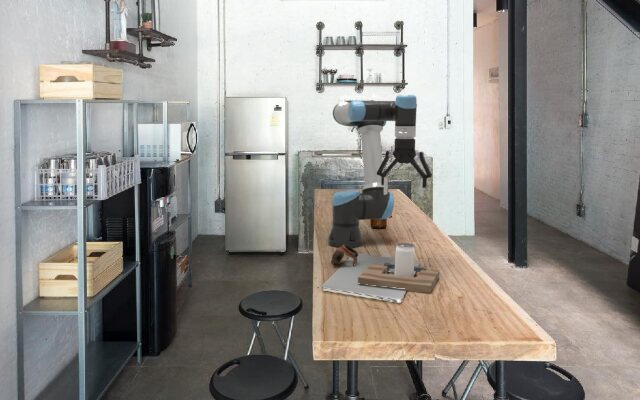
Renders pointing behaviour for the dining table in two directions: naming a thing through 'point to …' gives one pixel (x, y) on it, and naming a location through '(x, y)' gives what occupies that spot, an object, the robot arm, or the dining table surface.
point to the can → (404, 260)
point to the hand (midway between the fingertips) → (403, 195)
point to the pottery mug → (340, 254)
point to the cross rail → (392, 266)
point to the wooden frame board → (399, 279)
